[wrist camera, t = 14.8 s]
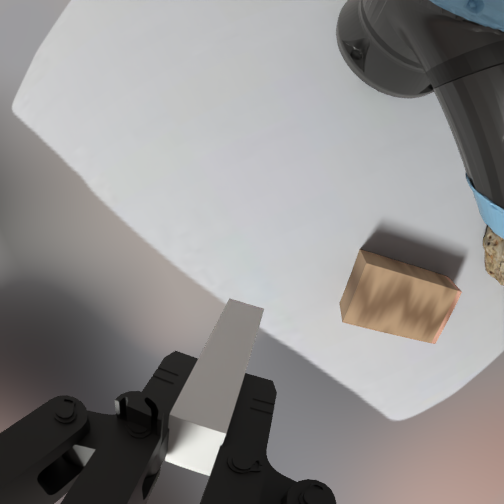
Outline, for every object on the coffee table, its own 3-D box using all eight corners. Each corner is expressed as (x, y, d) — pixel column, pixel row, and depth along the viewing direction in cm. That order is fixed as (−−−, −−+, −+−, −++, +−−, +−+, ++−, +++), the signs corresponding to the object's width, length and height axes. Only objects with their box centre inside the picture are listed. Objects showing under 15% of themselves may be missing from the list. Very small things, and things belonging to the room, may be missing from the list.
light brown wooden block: (366, 263, 33) (461, 291, 32) (359, 248, 38) (447, 276, 37) (342, 322, 36) (434, 343, 35) (339, 302, 41) (424, 324, 39)
